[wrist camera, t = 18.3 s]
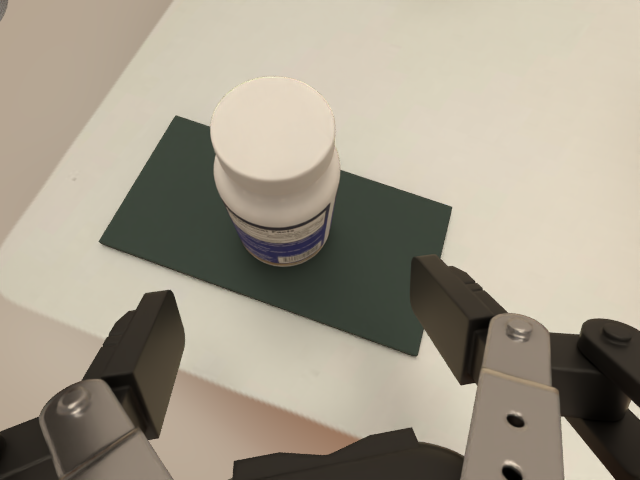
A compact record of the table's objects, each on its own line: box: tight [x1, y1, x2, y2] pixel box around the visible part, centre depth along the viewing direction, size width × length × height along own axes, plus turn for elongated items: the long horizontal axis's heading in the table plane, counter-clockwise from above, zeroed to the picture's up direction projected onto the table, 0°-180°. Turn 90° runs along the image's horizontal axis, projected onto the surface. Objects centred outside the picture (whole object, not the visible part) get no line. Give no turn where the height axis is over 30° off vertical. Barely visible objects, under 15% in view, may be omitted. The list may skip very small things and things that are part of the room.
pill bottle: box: [210, 76, 340, 267], centre depth 18 cm, size 6×6×10 cm
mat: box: [99, 116, 452, 356], centre depth 23 cm, size 20×10×1 cm, turn 71°
